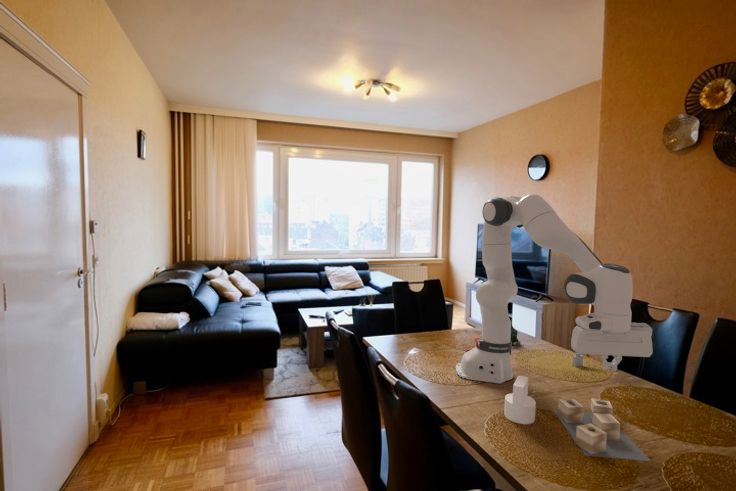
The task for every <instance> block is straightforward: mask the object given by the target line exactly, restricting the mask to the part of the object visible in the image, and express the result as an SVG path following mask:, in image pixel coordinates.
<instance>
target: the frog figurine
mask: <svg viewBox="0 0 736 491" xmlns="http://www.w3.org/2000/svg"><path fill="white" fill-rule="evenodd" d="M510 341H511V344H512V346H513V347H520V346H521V341H519V339H518V330H517V329H516V328H515V327H514V326H513V325H512V324H511V338H510Z"/></svg>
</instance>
